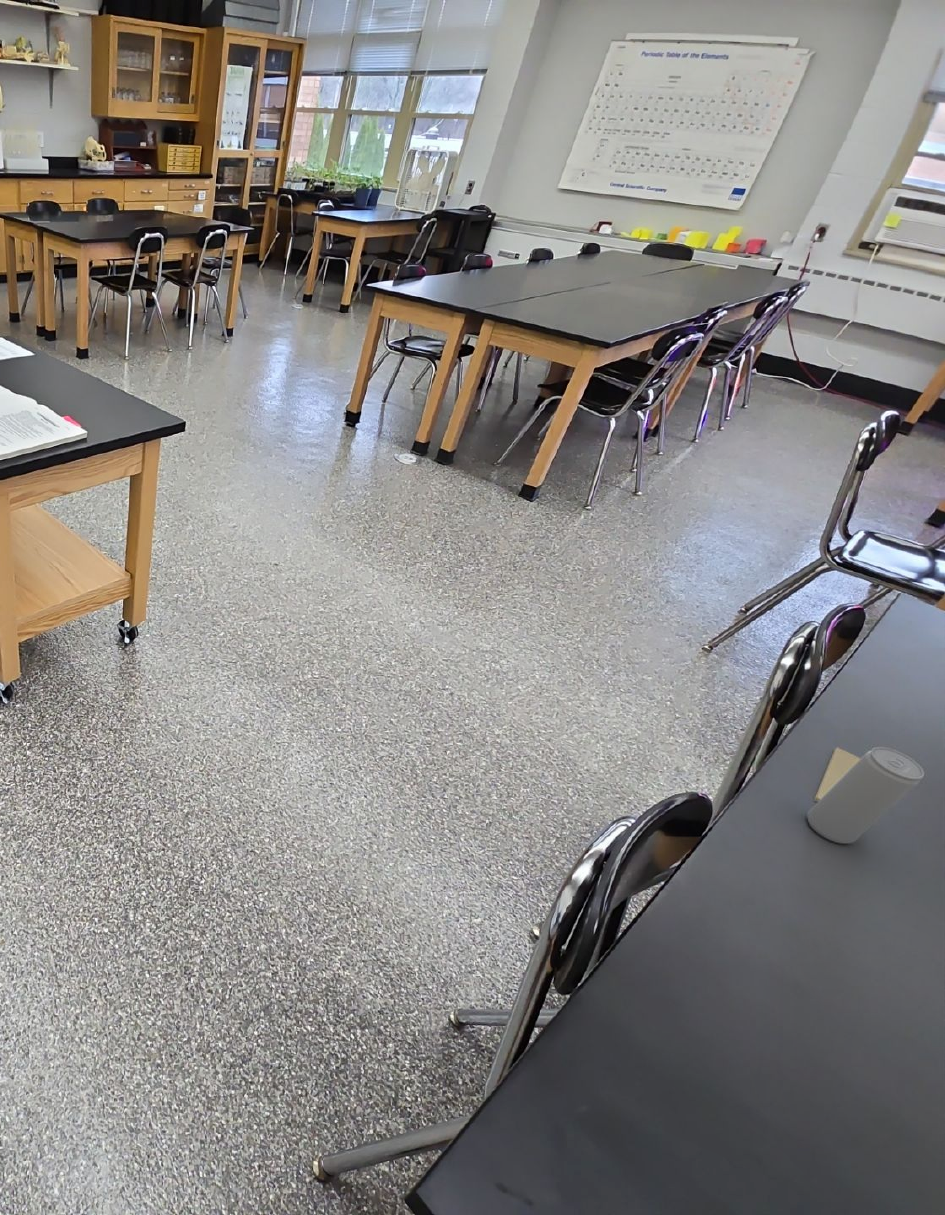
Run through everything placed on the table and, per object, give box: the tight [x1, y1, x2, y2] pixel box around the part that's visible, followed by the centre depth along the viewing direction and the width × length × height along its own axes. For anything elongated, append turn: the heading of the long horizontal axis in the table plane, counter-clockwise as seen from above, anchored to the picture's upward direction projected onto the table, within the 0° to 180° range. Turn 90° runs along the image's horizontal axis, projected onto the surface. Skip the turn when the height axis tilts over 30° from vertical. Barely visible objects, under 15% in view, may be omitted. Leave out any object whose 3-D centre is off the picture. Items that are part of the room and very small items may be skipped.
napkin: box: [813, 747, 862, 803], centre depth 92 cm, size 13×4×1 cm, turn 132°
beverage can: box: [806, 746, 925, 845], centre depth 82 cm, size 5×5×12 cm
